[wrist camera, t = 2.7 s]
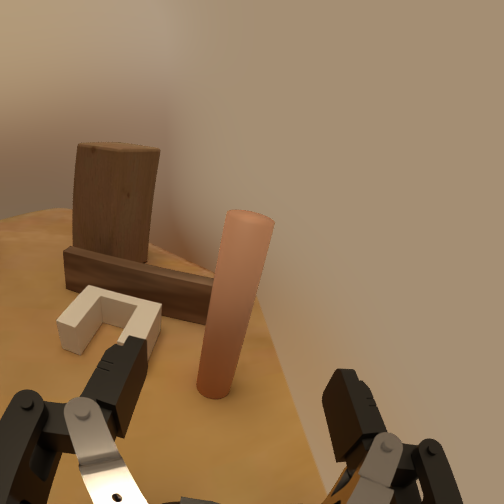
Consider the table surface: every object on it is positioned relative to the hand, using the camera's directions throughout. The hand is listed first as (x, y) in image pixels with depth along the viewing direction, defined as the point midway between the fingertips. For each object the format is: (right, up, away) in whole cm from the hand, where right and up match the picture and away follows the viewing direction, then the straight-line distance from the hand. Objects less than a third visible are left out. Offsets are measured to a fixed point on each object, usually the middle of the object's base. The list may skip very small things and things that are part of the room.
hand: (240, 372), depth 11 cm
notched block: (-16, -5, +18) cm, 24 cm away
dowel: (-3, -9, +16) cm, 18 cm away
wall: (-16, -2, +25) cm, 30 cm away
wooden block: (-24, +3, +34) cm, 42 cm away
